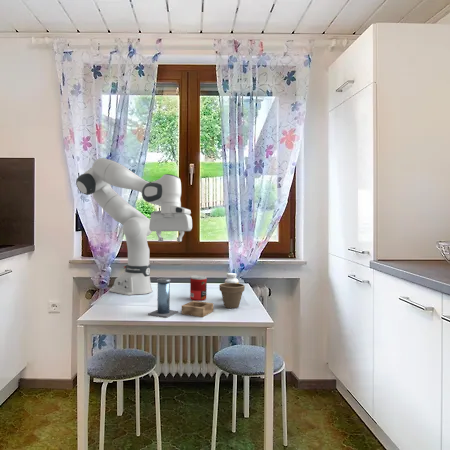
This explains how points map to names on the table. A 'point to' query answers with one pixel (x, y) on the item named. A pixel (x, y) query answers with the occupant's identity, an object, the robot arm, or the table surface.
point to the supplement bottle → (231, 278)
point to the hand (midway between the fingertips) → (169, 241)
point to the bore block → (197, 308)
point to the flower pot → (231, 294)
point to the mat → (163, 314)
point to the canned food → (198, 287)
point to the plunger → (163, 295)
